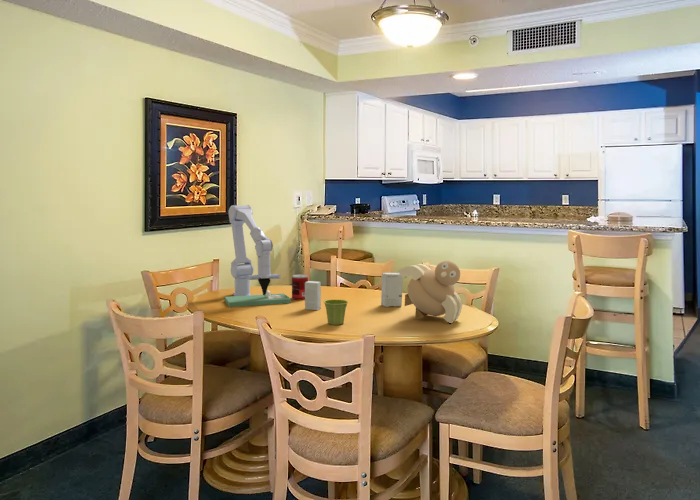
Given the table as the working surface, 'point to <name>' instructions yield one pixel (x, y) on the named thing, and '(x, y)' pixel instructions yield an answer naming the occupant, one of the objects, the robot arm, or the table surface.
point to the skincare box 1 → (312, 295)
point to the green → (257, 300)
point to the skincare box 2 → (391, 289)
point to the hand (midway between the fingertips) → (264, 294)
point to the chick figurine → (433, 290)
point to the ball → (267, 294)
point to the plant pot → (335, 311)
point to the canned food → (299, 286)
